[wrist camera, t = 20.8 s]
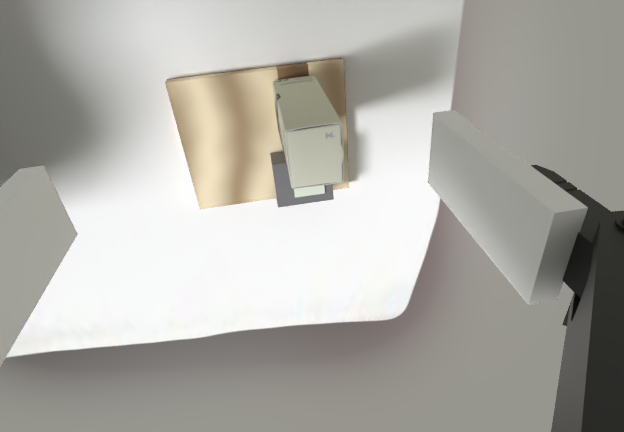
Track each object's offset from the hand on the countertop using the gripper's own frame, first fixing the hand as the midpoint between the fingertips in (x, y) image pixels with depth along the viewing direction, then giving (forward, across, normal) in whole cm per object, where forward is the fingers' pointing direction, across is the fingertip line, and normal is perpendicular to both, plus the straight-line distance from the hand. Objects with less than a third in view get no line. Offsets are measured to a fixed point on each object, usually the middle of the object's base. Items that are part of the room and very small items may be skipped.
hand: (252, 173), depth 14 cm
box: (+28, +4, -6) cm, 29 cm away
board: (+29, 0, -10) cm, 30 cm away
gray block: (+28, +4, -14) cm, 31 cm away
